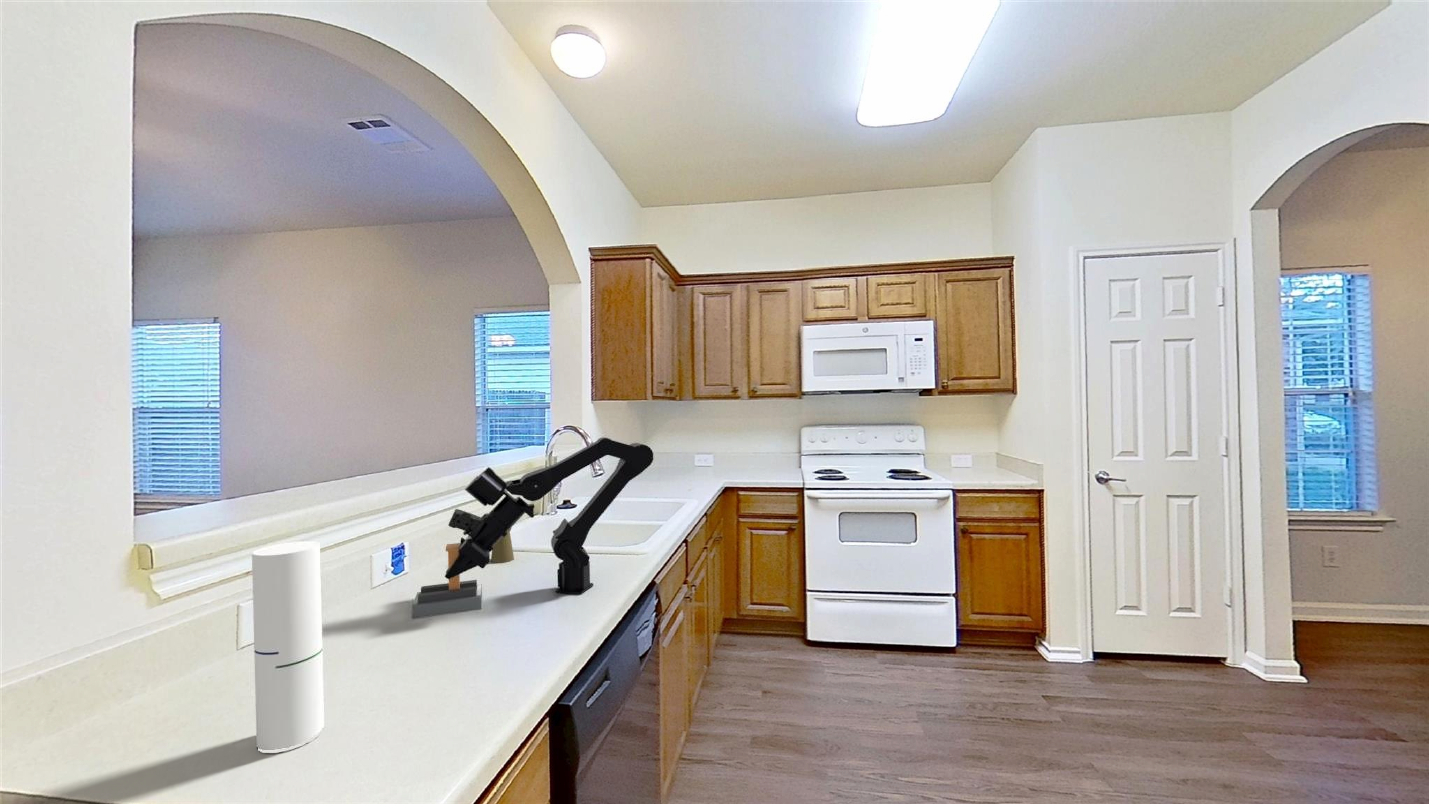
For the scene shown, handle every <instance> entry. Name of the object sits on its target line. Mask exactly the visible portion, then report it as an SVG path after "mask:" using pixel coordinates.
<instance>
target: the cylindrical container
mask: <svg viewBox="0 0 1429 804" xmlns="http://www.w3.org/2000/svg"><path fill="white" fill-rule="evenodd" d="M320 545H321V543H320V542H319V541H313V540H307V541H306V540H305V541H304V540H303V541H302V540H301V541H291V542H284V543H277V544H271V545H266V546H263V547H260V548H257V549H255V550H254V551H252V552H251V569H252V570H251V572H252V573H251V574H252V576H251V577H252V605H253V607H252V609H253V611H252V612H253V614H252V615H253V617H252V618H253V646H254V648H253V649H254V650H253V652H254V654H253V655H254V656H253V657H254V686H255V687H254V689H255V691H254V693H255V726H256V727H255V729H256V730H255V731H256V732H255V733H256V738H255V739H256V748H257V747H258V748H259V749H262V750H275V749H282V748H289V747H291V746H295V745H297V744H301V743H302V742H305V741H306V740H307V739H310V738H311V737H314V735H317V734H318V733H319V732H320V731H321V730H322V728H323V727H324V728H325V710H324V709H325V705H324V701H325V700H324V668H323V667H324V664H323V661H324V660H323V659H324V658H323V656H324V655H323V624H322V622H323V621H322V619H323V618H322V616H323V615H322V583H321V582H322V581H321V577H322V576H321V546H320Z"/></svg>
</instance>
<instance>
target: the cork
mask: <svg viewBox="0 0 1429 804" xmlns="http://www.w3.org/2000/svg"><path fill="white" fill-rule="evenodd" d="M512 528H513V526H512V527H511V528H510V529H509V530H508V531H507V535H506V536H505V537H502V538H501V539H500V540H499V541H498V542H497V543H496V544H495V545H494V549H493V550H492V551H491V556H490V563H492V564H504V563H509V562H512V561H514V560H515V557H514V550H513V544H512V538H511V530H512Z"/></svg>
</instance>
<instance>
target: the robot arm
mask: <svg viewBox="0 0 1429 804" xmlns="http://www.w3.org/2000/svg"><path fill="white" fill-rule="evenodd" d="M606 456H610V457H613V458H617V459H619V460H618V463H617V465H616V467H615V469H614V471H613V472H612V473H611V474H610V476H609V477H608V478H607V480H606V481H605V482H604V483H603V485H601V486H600V488H599V489H598V490H597V491H596V493H594V495H593V497H591V498H590V500H589V501H588V503H587V504H586V505H585V506H584V507H583V508H582V509H581V511H580V512H579V513H578V514H577V516H575V517H574V518H573V519H571V520H570V521H568V520H567V519H566V518H563V519H562V521H561V523H560V524H559V526H558V527H557V528H555V529H554V530H553V531H552V534H553V535H552V537H551V540H550V544H551V548H552V551H553V553H554V555H555V557H556V558H557V559H559V560H560V562H559V563H558V569H557V570H556V571H557V572H556V573H557V589H555V593H558V594H559V593H560V594H573V595H574V594H575V595H581V594H584V593H585V592H586V591H588V590H590V589H591V588H592V587H594V583H593V582H591V572H590V571H591V570H590V569H591V568H590V567H591V565H590V559H591V558H590V555H589V554H588V552H587V551H586V549H585V548H584V546H583V545H584V544H585V542H586V539H587V537H588V535H589V533H590V530H591V529H592V527H593V526H594V525H595V524H596V522H597V521H598V520H599V519H600V518H601V516H602V515H603V514H604V513H605V512H606V510H607V509H608V508H609V507H610V505H611V504H612V503H613V502H614V501H615V500H616V498H617V497H618V495H619V494H620V493H621V492H622V491H623V489H624V488H625V487H626V486H627V485H628V483H629V482H630V481H633V479H635V478H636V477H638V476H640V475H641V474H642V473H643V472H644V471H646V469H648V468H649V467H650V466H651V465H652V463H653V461H654V452H653V450H652V449H651V447H650V446H648V445H646V444H643V443H639V442H634V443H633V442H632V443H630V444H626V443H623V442H619V441H616V440H612V439H611V438H610V437H604V436H603V437H600V438H598V439H597V440H596V441H595V442H592V443H591V444H589V445H587V446H585V447H583V448H582V449H580V450H578V451H576V452H574V453H572V454H571V455H569V456H567V457H565V458H564V459H562V460H559V461H558V462H556V463H555V464H552V465H549V466H545V467H542V468H539V469H536V470H533V471H530V472H526V473H525V474H523V476H522V477H521V478H517V479H512V480H508V481H505V480H504V479H503V478H502V477H500V476H499V475H498V474H497V473H496V472H495V471H494V469H492V468H491V467H489V466H488V467H486V468H485V470H483V471H482V472H481V473H480V474H479V475H477V476H476V477H474V478H473V479H472V480H471V482H470V483H469V484H468V485H467V486H466V488H464V491H466V493H468V494H470V496H472V497H473V498H474V499H475V500H477V501H478V502H479V503H480V504H481V505H482V506H484V507H486V506H487V505H488V506H492V507H493V506H494V507H493V509H492V510H491V511H490V512H489V513H488V512H486V513H484V514H483V515H482V516H481V517H480V516H478V515H476V514H473V513H471V512H467V511H465V510H462V509H459V508H455V509H454V511H453V513H452V516H451V517H450V519H449V522H448V523H447V525H448V526H449V527H451V528H453V529H455V528H456V529H458V530H461V531H463V532H462V534H463V535H464V536H466V535H467V536H466V538H464V537H461V538H460V542H459V543H461V544H460V545H459V556H458V557H457V559H456V560H455V562H454V563H453V564H452V566H451V567H450V569H449V570H448V568H447V570H446V571H445V574H444V578H445V579H447V580H449V579H450V578H453V577H455V576H457V575H459V574H460V575H461V574H463V573H465V572H467V571H469V570H472V569H473V568H476V567H479V568H480V569H483V570H484V568H485V567H486V566H487V565H488V564H490V563H491V556H490V553H492V550H493V549H494V545H495V544H496V543H497V542H498V541H499V540H500V539H501V538H502V537H505V536H506V535H507V531H508V530H509V529H510V528H511V527H512V528H513V526H514V525H515V524H516V523H517V522H518V521H519V520H520V519H521V518H522V517H523V516H524V514H527V516H529V517H530V518H532V519H533V518H534V517H535V514H534V513H535V512H534V509H535V504H534V503H528V502H526V501H530V502H537V501H539V500H541V499H543V498H544V496H546V495H547V494H549V493H550V492H551V491H552V490H553V489H554V488H555V487H556V486H558V484H559V483H560V482H562V481H563V480H565V479H567V478H568V477H570V476H572V475H574V474H576V473H577V472H579V471H581V470H582V469H584V468H587V466H590V465H592V464H594V463H595V462H596V461H599V460H601V459H603V458H604V457H606ZM503 496H504V497H503ZM513 496H517V497H513ZM520 496H521V497H522V498H521V497H520ZM502 497H503V498H502ZM500 499H501V500H500ZM499 500H500V501H499ZM525 500H526V501H525ZM498 501H499V502H498ZM495 504H496V505H495ZM512 528H511V529H512Z"/></svg>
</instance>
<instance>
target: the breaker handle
mask: <svg viewBox="0 0 1429 804" xmlns="http://www.w3.org/2000/svg"><path fill="white" fill-rule="evenodd" d="M460 544H461V543H460V542H458V543H447V544H446V546H445V552H447V555H448V556H447V564H448V565H447V566H448V567H447V569H448V570H449V569H450V567H451V566H452V564H453V563H454V562H455V560H456V559H457V557H458V556H459V545H460ZM460 575H461V574H459V575H457V576H455V577H453V578H450V579H448V583H449V590H453V589H460V582H461V581H460V580H461V579H460V578H461V576H460Z"/></svg>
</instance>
